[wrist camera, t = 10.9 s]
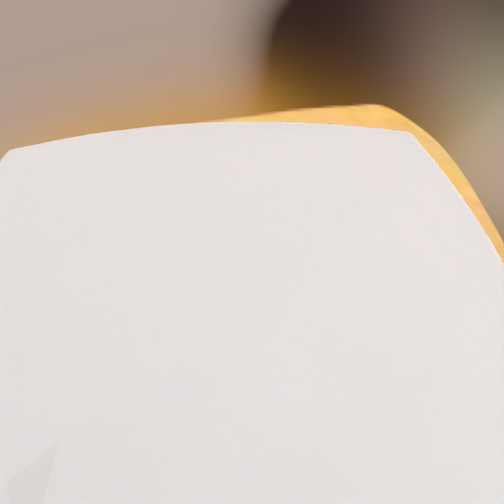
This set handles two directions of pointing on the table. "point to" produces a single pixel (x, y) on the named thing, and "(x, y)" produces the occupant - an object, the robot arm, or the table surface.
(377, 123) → the table surface
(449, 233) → the small box
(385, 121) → the table surface
